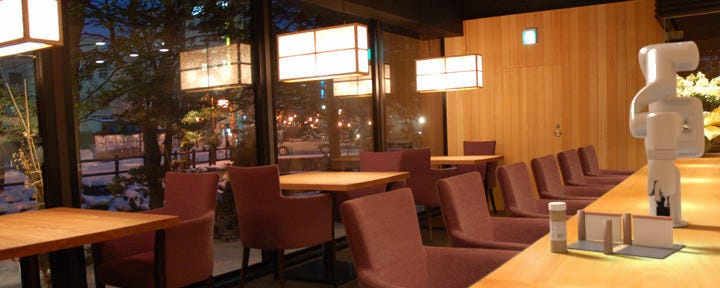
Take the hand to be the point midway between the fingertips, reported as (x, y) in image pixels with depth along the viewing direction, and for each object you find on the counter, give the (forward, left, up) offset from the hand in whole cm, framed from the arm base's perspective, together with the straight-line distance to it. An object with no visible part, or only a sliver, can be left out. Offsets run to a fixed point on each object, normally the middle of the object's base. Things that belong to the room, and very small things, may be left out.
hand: (663, 220), depth 171 cm
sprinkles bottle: (+25, -20, -7) cm, 32 cm away
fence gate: (+7, -1, -6) cm, 9 cm away
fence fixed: (+14, -14, -7) cm, 21 cm away
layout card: (+10, -8, -7) cm, 14 cm away
